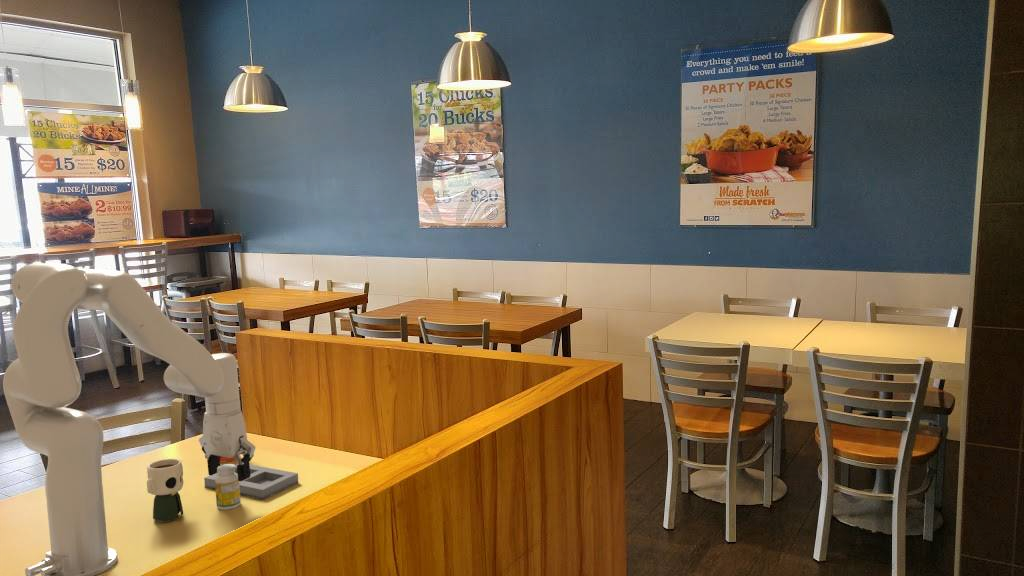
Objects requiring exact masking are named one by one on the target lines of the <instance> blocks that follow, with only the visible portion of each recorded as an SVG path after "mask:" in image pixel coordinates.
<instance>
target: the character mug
mask: <svg viewBox="0 0 1024 576" xmlns="http://www.w3.org/2000/svg"><path fill="white" fill-rule="evenodd" d="M146 467H147V468H146V470H147V471H146V473H147V480H146V490H147V493H148V494H150V495H153V496H154V498H153V505H152V506H153V508H152V519H153V521H159V522H164V523H165V522H171V521H175V520H177V519H179V515H180V517H182V516H183V515H184V508H183V504H182V499H181V495H180V493H179V492H180V491H182V489H183V487H184V478H183V476H184V469H183V468H184V467H183V464H182V460H181V459H178V458H166V459H165V458H163V459H159V460H156V461H152V462H150V463H149V464H147V465H146Z"/></svg>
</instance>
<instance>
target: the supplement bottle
mask: <svg viewBox="0 0 1024 576" xmlns="http://www.w3.org/2000/svg"><path fill="white" fill-rule="evenodd" d="M220 465H221V466H219V467H218V468H217V473H218V474H219V475H218V476H217V477H216V478H215V489H216V490H215V489H214V490H215V501H216V502H215V504H216V508H217V509H218V510H221V511H224V510H225V511H226V510H227V511H228V510H233V509H235V508H238V507H239V506H240V505H241V502H242V501H241V495H240V485H239V481H238V474H237V473H235V471H236V468H235V465H236V464H234V463H225V464H220Z"/></svg>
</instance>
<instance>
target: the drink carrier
mask: <svg viewBox="0 0 1024 576" xmlns="http://www.w3.org/2000/svg"><path fill="white" fill-rule="evenodd" d="M249 464H250V477H249V478H247V479H245V480H243V481H239V485H240V496H244V497H248V498H253V499H256V500H257V499H258V500H266V499H268V498H270V497H273V496H274V495H277V494H278V493H281V492H282V491H285V490H288V489H289V488H290V487H291V488H292V486H295V485H297V484H299V473H298V472H292V471H287V470H282V469H276V468H271V467H266V466H260V465H255V464H251V463H249ZM234 465H235V468H236V471H235V473H237V474H238V472H237V465H239V463H237V464H234ZM218 475H219V474H218V473H216V474H213V475H207V476H205V477H204V478H203V480H204V488H206V489H211V490H215V491H216V489H215V478H216V477H217V476H218Z"/></svg>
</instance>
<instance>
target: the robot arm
mask: <svg viewBox="0 0 1024 576" xmlns="http://www.w3.org/2000/svg"><path fill="white" fill-rule="evenodd" d="M10 288H11V290H12V292H13V295H14V297H16V299H17V300H18V301H20V302H21V303H22V304H21V305H20V307H19V309H18V311H17V313H16V315H15V318H14V324H13V340H14V345H15V349H16V353H17V358H16V359H14V360H13V361H12V362H11V363H10V364H9V365H8V367H7V368H6V370H5V371H4V375H3V378H2V388H3V393H4V397H5V400H6V404H7V407H8V410H9V413H10V416H11V419H12V422H13V425H14V428H15V432H16V434H17V435H18V436H17V437H18V438H19V440H20V441H21V443H22V444H23V446H24V447H26V448H27V449H28V450H30V451H32V452H35V453H37V454H41V455H45V456H46V457H47V458H48V459H47V466H46V467H47V468H46V472H45V476H44V477H45V478H44V490H45V491H44V492H45V498H46V507H47V509H46V510H47V519H48V529H49V541H50V551H47V552H45V558H43V559H42V560H41V562H39V563H38V562H37V563H35V564H33V565H30V566H27V567H26V568H25V570H24V574H25V576H38V575H41V576H97V575H100V574H101V573H103V572H105V571H107V570H109V569H111V567H113V566H114V565H115V564H116V563H117V561H118V552H117V551H116V550H115V549H113V548H111V547H108V545H109V544H108V536H107V532H108V531H107V522H106V510H105V499H104V487H103V476H102V474H103V473H102V456H103V448H104V440H105V439H104V430H103V427H102V425H101V423H100V422H99V421H98V419H97V418H96V417H94V416H93V415H92V414H90V413H88V412H86V411H82V410H79V409H74V408H71V407H68V406H69V405H72V404H73V403H74V402H75V401H76V400H77V399H78V398H79V396H80V394H81V391H82V380H81V376H80V375H81V374H80V372H79V368H78V365H77V362H76V359H75V355H74V352H73V349H72V345H71V341H70V336H69V321H70V318H71V316H72V315H73V313H74V312H75V310H90V311H91V310H94V311H101V312H102V311H103V313H105V314H106V316H107V317H108V318H109V319H110V320H111V321H112V322H113V324H114V325H115V326H117V328H118V329H119V331H120V332H121V333H123V335H124V336H125V337H126V338H127V340H129V341H130V342H131V344H133V346H134V347H136V348H138V349H139V350H141V351H143V352H144V353H146V354H149V355H151V356H153V357H156V358H158V359H160V360H161V361H164V362H166V363H167V364H169V365H168V366H167V368H166V369H165V371H164V373H163V382H164V384H165V386H166V387H167V389H169V390H171V391H173V392H175V393H179V394H183V395H189V396H190V395H191V396H197V397H200V398H204V403H205V412H204V415H203V421H202V436H201V437H199V438H198V443H199V444H200V447H201V451H202V452H203V453H204V458H205V460H206V463H207V471H208V474H207V475H208V476H210V475H213V474H216V473H217V468H218V467H219V466H221V465H222V464H221V462H220V456H222V457H228V458H231V457H235V461H236V462H237V464H239V465H237V464H236V465H237V472H238V481H243V480H245V479H247V478H249V477H250V464H251V463H250V462H252V459H253V457H255V456H254V454H255V452H256V446H255V445H254V443H252V442H251V441H250V440H248V435H247V429H246V423H245V419H244V416H243V415H244V414H243V412H242V409H241V400H240V399H241V398H240V397H241V396H240V388H239V376H238V375H239V374H238V373H239V372H238V363H237V358H236V356H235V355H234V354H233V353H228V352H220V353H210V351H209V350H207V348H206V347H205V346H204V345H203V344H202V343H200V342H199V340H197V339H195V338H194V337H193V336H192V335H190V334H189V333H188V332H186V331H185V330H184V329H182V328H181V327H180V326H178V325H177V324H176V323H174V322H173V321H172V320H170V318H169V317H168V316H167V315H166V314H165V313H164V312H163V311H162V309H160V307H159V306H158V305H157V303H156V302H155V301H154V300H153V299H152V298H151V296H150V295H149V294H148V292H146V290H145V289H144V288H143V287H142V285H141V284H140V283H139V282H138V280H137V279H135V277H134V276H133V275H131V274H130V273H127V272H125V271H122V270H115V269H113V270H112V269H111V270H109V269H90V268H89V269H87V268H78V267H77V266H73V265H70V264H66V263H65V264H64V263H43V262H42V263H38V262H35V263H29V264H27V265H24V266H23V267H20V268H19V269H18V270H17V271H16V272H15V273H14V275H13V276H12V279H11V287H10ZM241 455H242V456H241Z"/></svg>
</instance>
